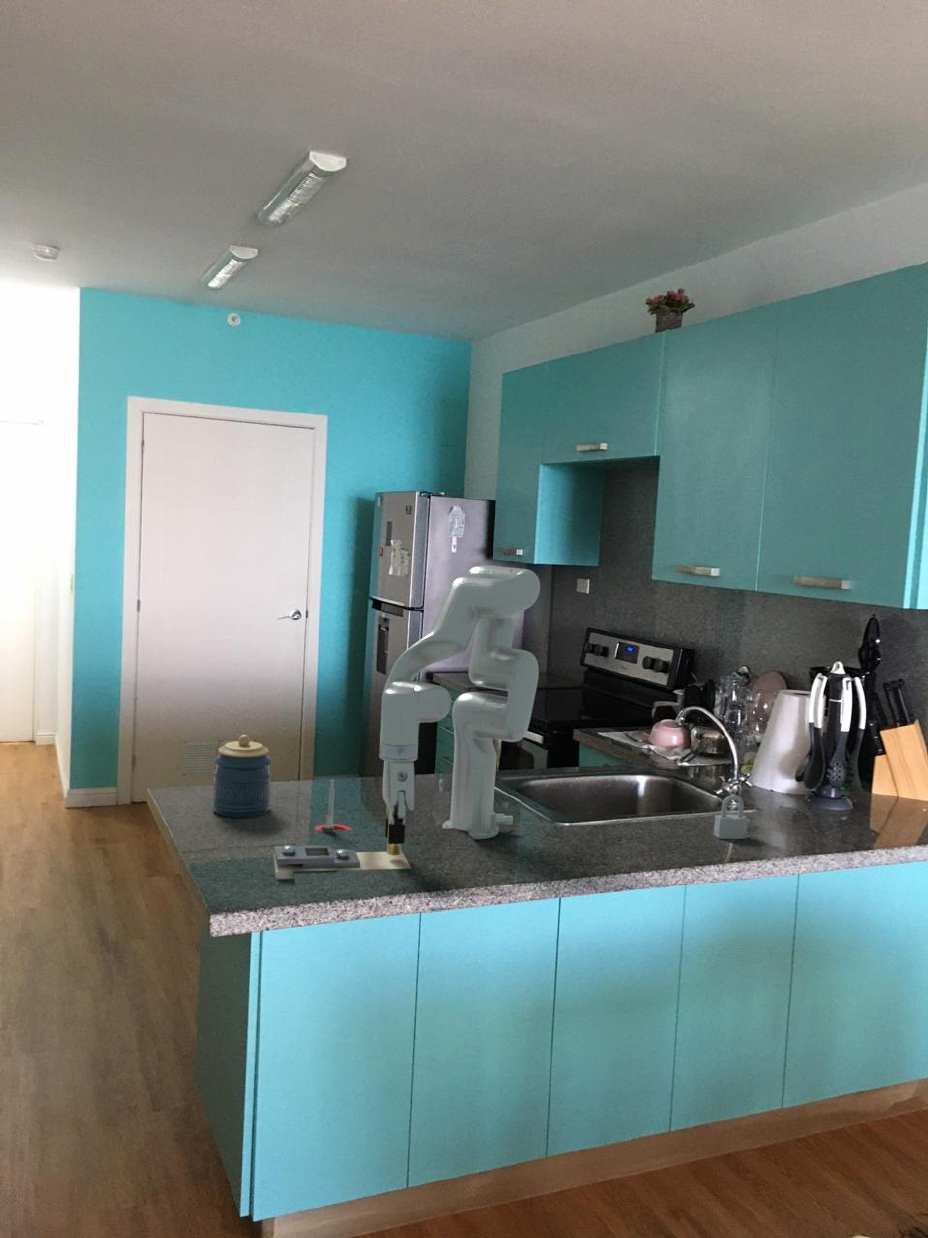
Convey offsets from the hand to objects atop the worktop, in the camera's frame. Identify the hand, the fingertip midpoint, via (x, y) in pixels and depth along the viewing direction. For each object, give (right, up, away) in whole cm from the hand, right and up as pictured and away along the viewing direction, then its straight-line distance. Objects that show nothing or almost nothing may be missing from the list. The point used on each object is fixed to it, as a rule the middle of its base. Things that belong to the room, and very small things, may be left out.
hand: (394, 839), depth 207 cm
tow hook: (-15, -3, +19) cm, 24 cm away
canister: (-37, 0, +32) cm, 49 cm away
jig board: (-10, -5, -2) cm, 12 cm away
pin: (0, -3, 0) cm, 3 cm away
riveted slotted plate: (-15, -4, -4) cm, 16 cm away
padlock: (+76, -7, +35) cm, 84 cm away
